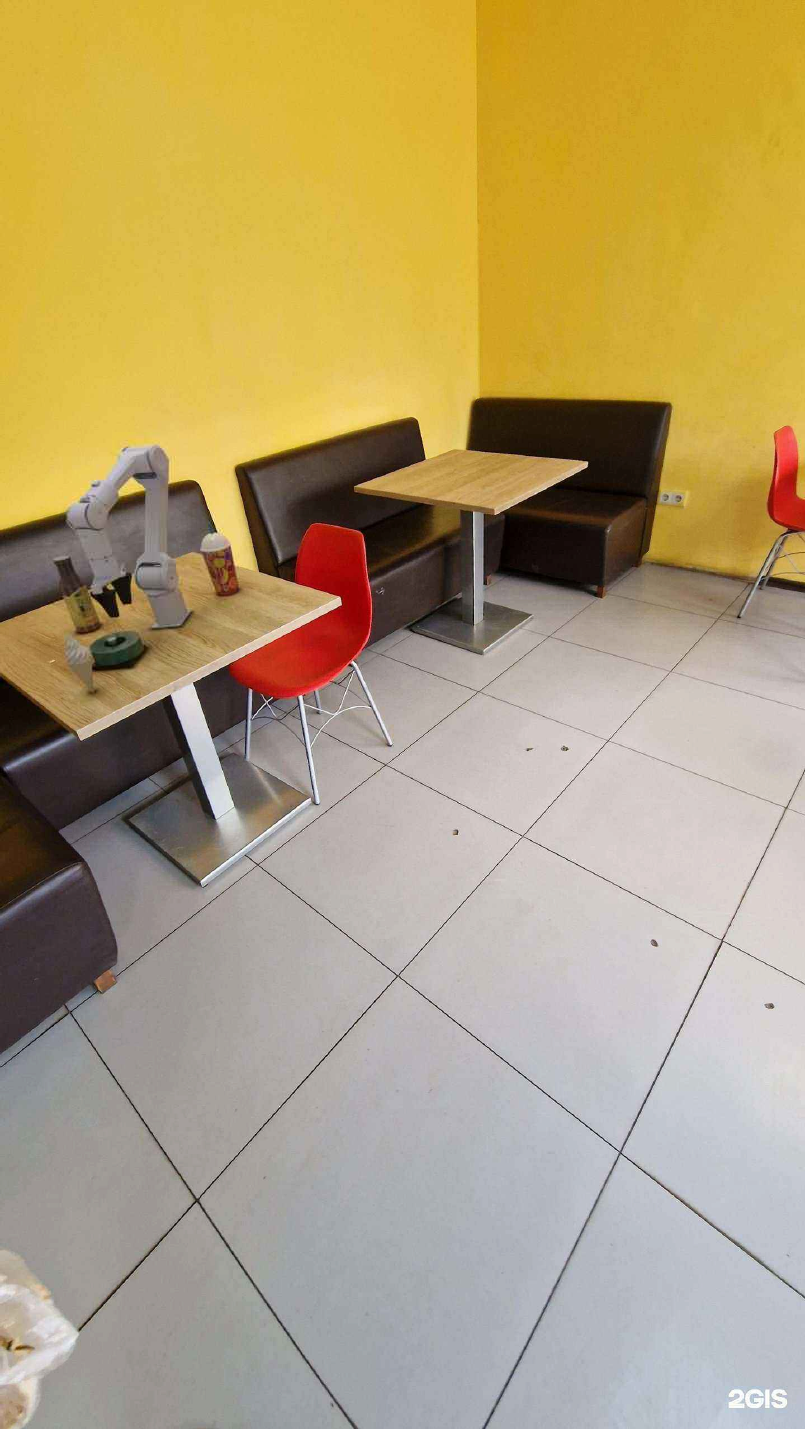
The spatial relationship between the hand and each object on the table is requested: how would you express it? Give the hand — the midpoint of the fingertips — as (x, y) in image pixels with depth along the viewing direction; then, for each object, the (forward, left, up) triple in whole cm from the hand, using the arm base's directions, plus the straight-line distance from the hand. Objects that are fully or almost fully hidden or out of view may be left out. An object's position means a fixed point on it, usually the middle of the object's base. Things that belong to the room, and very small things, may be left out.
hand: (121, 610), depth 152 cm
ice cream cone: (+20, -2, -11) cm, 23 cm away
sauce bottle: (-15, -19, -11) cm, 26 cm away
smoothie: (-33, +15, -11) cm, 38 cm away
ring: (+4, -2, -9) cm, 10 cm away
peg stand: (+5, -2, -10) cm, 12 cm away
